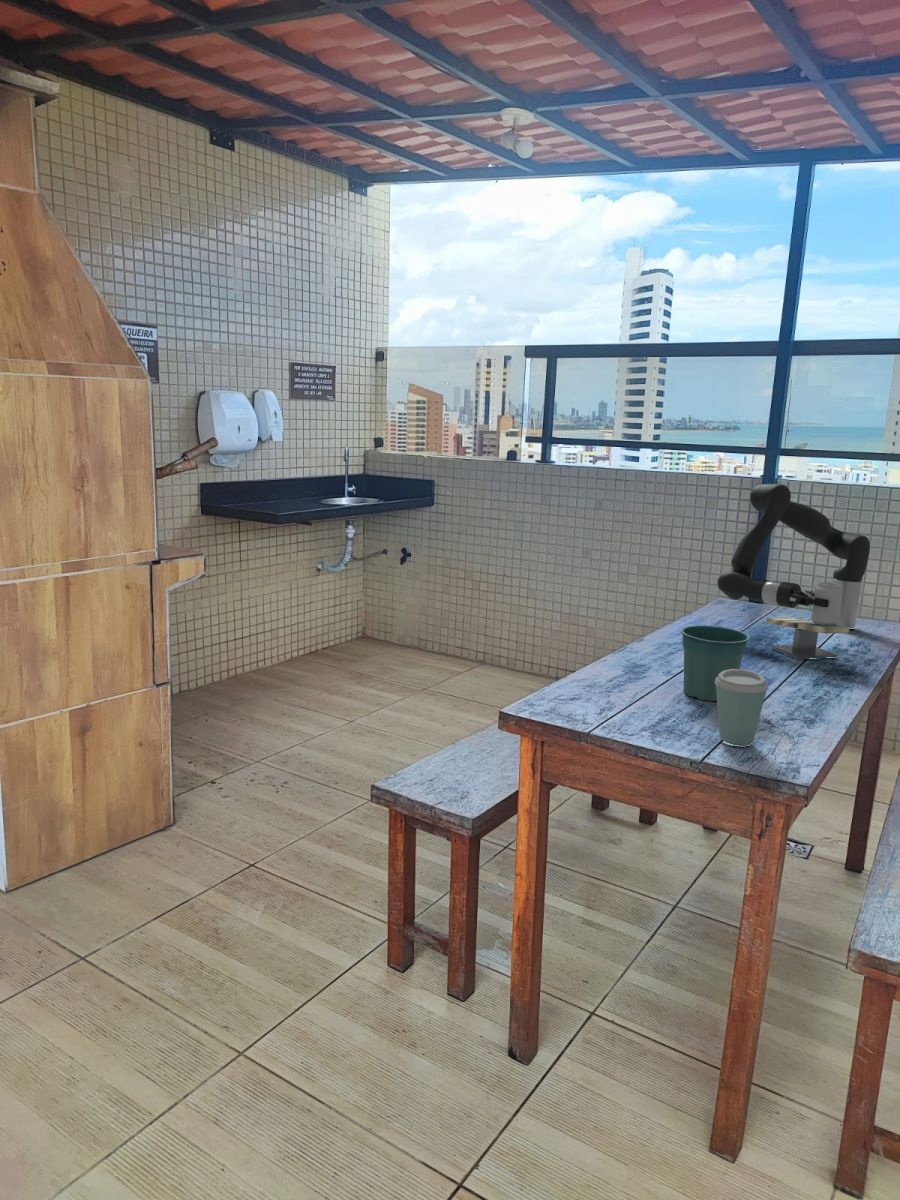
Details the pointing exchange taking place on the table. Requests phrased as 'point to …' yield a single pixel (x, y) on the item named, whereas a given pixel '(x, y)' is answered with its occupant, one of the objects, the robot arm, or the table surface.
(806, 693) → the table surface
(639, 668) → the table surface
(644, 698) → the table surface
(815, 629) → the beam
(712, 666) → the flower pot
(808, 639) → the stand
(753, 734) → the disposable coffee cup
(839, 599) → the can
